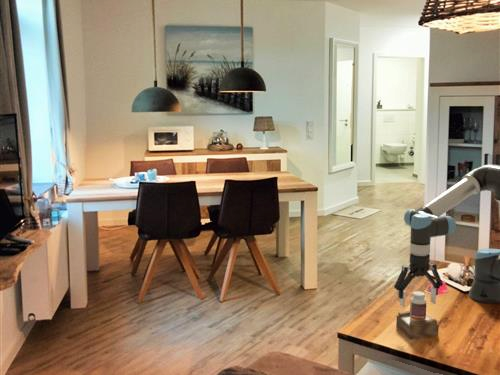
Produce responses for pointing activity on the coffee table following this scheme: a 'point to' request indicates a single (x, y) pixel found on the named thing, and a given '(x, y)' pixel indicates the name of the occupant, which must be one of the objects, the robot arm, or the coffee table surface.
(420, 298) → the pill bottle
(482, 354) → the coffee table surface
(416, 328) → the brown square open box
